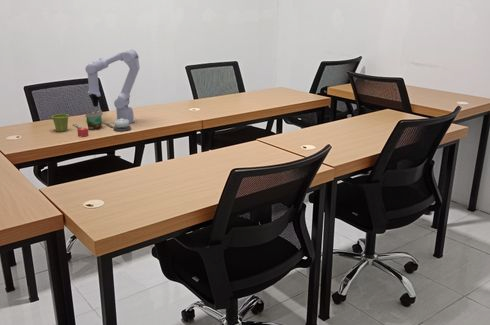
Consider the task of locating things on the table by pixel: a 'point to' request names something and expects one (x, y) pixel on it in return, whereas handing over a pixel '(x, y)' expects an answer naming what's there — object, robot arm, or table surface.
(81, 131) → the red die
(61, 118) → the plant pot
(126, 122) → the dome
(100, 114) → the food container
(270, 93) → the table surface
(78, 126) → the game lane
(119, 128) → the dark grey disc
